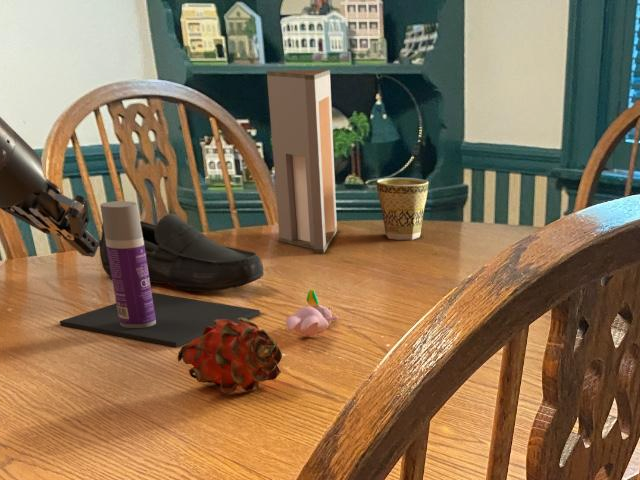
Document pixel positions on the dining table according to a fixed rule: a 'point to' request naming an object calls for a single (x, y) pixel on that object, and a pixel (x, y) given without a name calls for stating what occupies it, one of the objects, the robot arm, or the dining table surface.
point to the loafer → (191, 258)
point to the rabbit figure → (311, 317)
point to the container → (128, 264)
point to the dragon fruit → (233, 355)
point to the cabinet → (303, 156)
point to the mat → (163, 320)
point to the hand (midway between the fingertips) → (91, 250)
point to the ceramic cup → (402, 206)
